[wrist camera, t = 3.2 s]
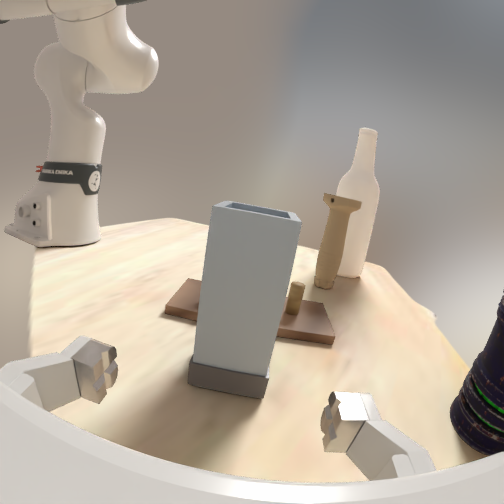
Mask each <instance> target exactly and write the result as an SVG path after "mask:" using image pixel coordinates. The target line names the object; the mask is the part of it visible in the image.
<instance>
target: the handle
mask: <svg viewBox="0 0 504 504" xmlns="http://www.w3.org/2000/svg"><path fill="white" fill-rule="evenodd" d="M323 200H324V202H325V203H326V204H327V205H328V206H329V208H330V212H329V217H328V221H327V225H326V229H325V232H324V236H323V239H322V243H321V246H320V250H319V254H318V258H317V264H316V273H315V274H316V276H315V278H314V283H315V284H316V286H317V287H321V288H324V289H327V288H332V286H333V284H334V281H333V279H335V278H336V275H337V273H338V270H339V267H340V263H341V259H342V255H343V251H344V245H345V239H346V233H347V228H348V222H349V217H350V214H351V213H352V212H354V211H357V210H359V209H360V208H361V204H362V202H361V201H357V200H353V199H349V198H344V197H340V196H335V195H331V194H326V193H324V198H323Z"/></svg>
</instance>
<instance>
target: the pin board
mask: <svg viewBox="0 0 504 504" xmlns="http://www.w3.org/2000/svg"><path fill="white" fill-rule="evenodd" d="M201 284H202V281H199V280H194V279H190V278H188V279H187V280H186V282H185V283H184V284H183V285H182V286H181V287H180V289H179V290H178V291H177V292H176V293H175V295H174V296H173V297H172V298H171V299H170V301H169V302H168V303H167V304H166V309H165V313H166V314H170V315H174V316H178V317H183V318H187V319H191V320H196V321H197V317H198V308H199V300H200V291H201ZM304 289H305V285H304V284H303V283H300V282H292V283H291V287H290V291H289V296H288V297H286V298H285V302H284V307H283V311H282V315H281V319H280V323H279V327H278V332H277V336H278V337H285V338H291V339H297V340H304V341H311V342H318V343H326V344H333V342H334V339H335V334H334V331H333V329H332V326H331V323H330V321H329V318H328V316H327V313H326V311H325V308H324V305H323V303H318V302H312V301H306V300H302V297H303V293H304Z"/></svg>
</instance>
